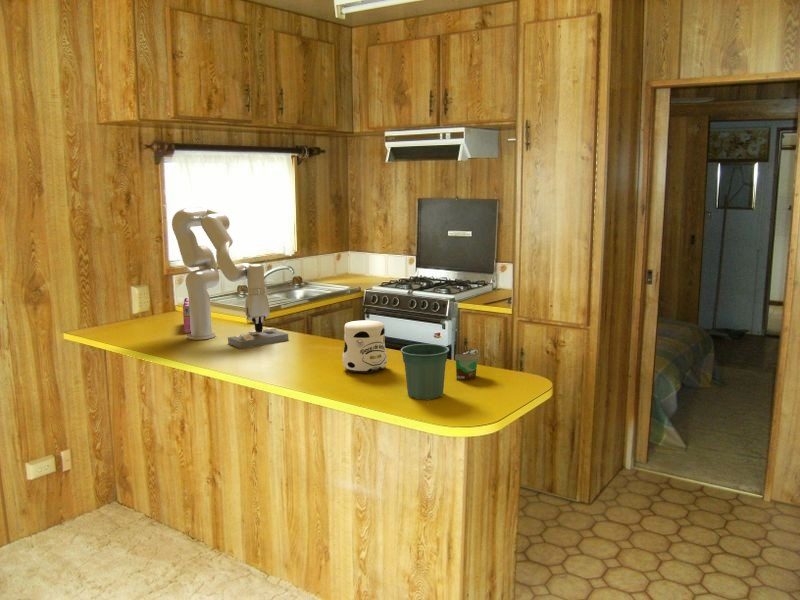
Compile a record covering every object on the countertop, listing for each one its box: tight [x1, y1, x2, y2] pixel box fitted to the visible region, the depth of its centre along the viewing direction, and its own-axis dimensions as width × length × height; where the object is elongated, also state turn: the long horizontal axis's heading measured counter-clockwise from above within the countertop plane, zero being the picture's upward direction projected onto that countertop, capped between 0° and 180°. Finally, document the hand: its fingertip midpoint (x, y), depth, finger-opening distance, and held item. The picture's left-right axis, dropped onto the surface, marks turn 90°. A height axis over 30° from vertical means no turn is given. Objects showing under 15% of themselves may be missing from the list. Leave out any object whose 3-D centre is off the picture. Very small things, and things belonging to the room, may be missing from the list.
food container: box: [454, 347, 480, 382], centre depth 262 cm, size 12×6×10 cm, turn 148°
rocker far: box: [262, 327, 277, 332], centre depth 329 cm, size 6×4×2 cm, turn 40°
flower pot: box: [400, 343, 450, 401], centre depth 242 cm, size 16×16×16 cm
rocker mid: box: [247, 329, 263, 334], centre depth 324 cm, size 6×4×2 cm, turn 40°
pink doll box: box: [182, 297, 191, 334], centre depth 353 cm, size 24×8×14 cm, turn 14°
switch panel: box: [227, 329, 289, 350], centre depth 322 cm, size 12×24×3 cm, turn 130°
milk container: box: [341, 320, 388, 374], centre depth 274 cm, size 17×17×18 cm
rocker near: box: [239, 332, 254, 341], centre depth 315 cm, size 6×4×2 cm, turn 40°
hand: (259, 331), depth 321 cm, fingers closed
